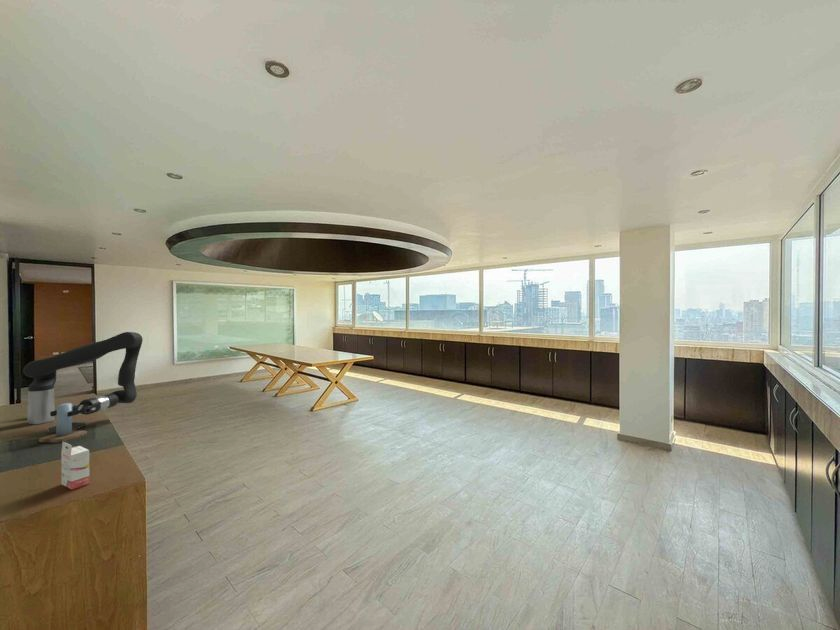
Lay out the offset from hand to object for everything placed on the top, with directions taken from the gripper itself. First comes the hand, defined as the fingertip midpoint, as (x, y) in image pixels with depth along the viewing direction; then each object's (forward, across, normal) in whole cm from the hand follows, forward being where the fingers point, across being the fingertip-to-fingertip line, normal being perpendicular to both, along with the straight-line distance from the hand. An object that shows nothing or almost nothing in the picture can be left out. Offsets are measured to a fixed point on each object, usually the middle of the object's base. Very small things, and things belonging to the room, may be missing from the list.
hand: (59, 414), depth 158 cm
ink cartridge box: (+38, +51, +12) cm, 65 cm away
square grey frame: (-13, -11, +12) cm, 20 cm away
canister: (-2, 0, +10) cm, 10 cm away
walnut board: (-2, 0, +12) cm, 12 cm away
